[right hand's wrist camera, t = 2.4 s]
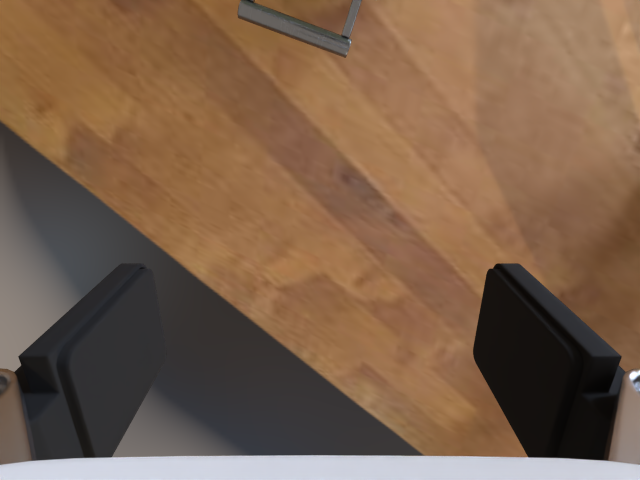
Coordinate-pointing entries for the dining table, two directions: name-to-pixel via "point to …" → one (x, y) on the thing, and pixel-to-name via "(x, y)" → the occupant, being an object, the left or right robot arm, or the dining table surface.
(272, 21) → the drawer
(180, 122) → the dining table surface
